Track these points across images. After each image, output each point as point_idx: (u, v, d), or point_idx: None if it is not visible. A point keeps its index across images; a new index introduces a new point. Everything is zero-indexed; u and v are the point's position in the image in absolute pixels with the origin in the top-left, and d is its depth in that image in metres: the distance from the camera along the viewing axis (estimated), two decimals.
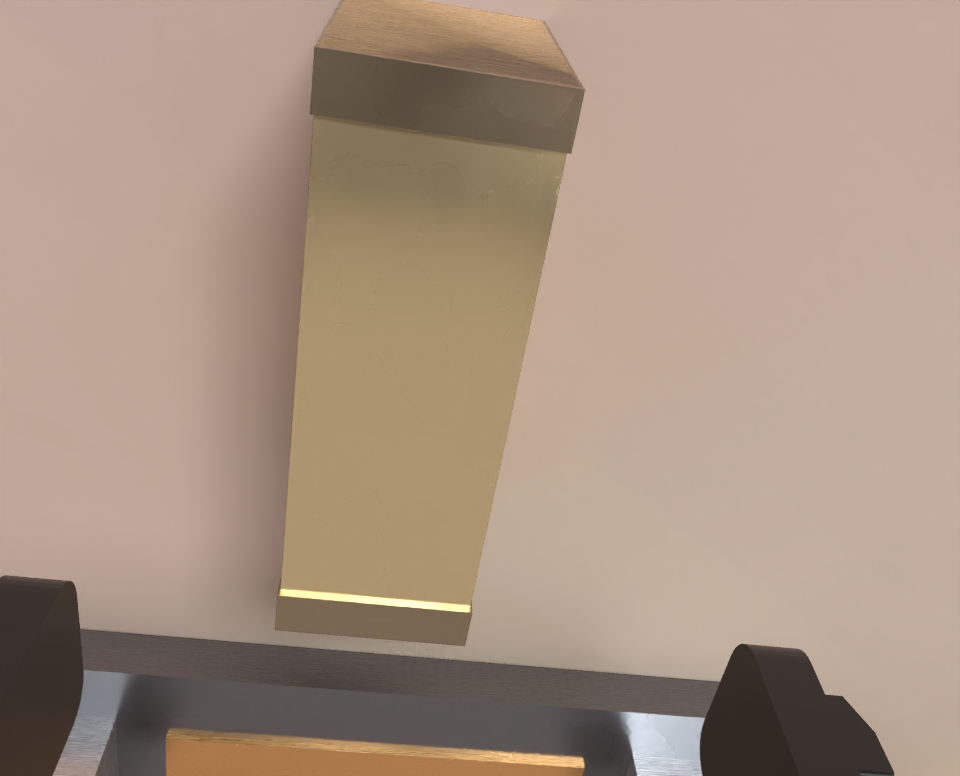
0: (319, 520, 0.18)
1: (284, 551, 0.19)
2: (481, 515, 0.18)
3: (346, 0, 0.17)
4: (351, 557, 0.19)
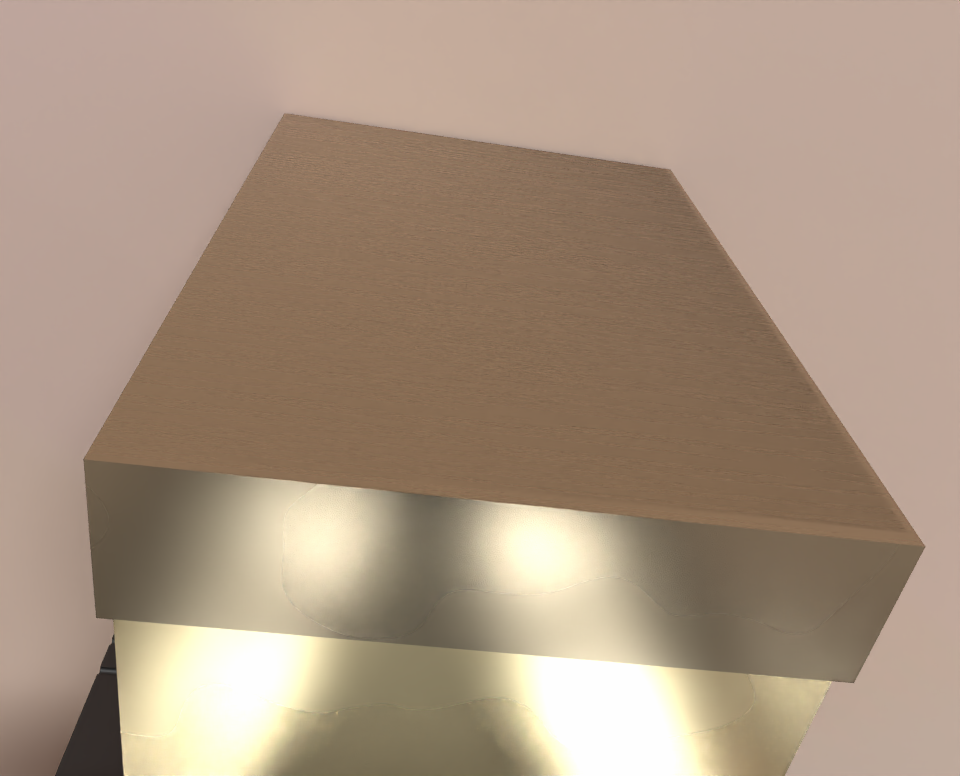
0: None
1: None
2: None
3: (268, 160, 0.08)
4: None
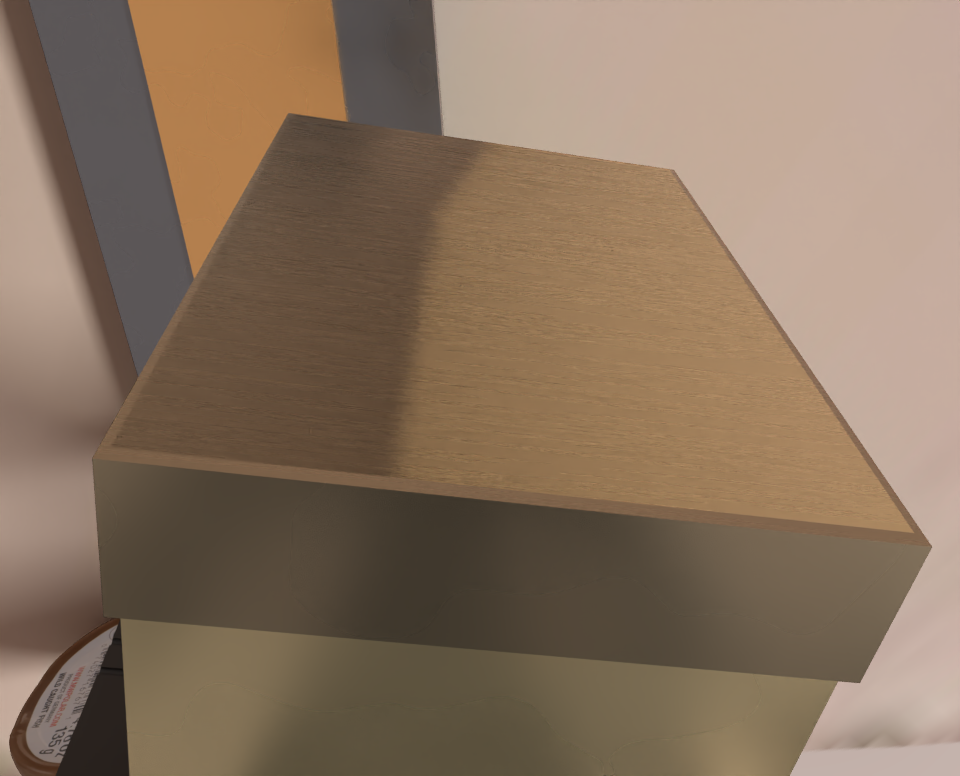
0: None
1: None
2: None
3: (272, 160, 0.08)
4: None
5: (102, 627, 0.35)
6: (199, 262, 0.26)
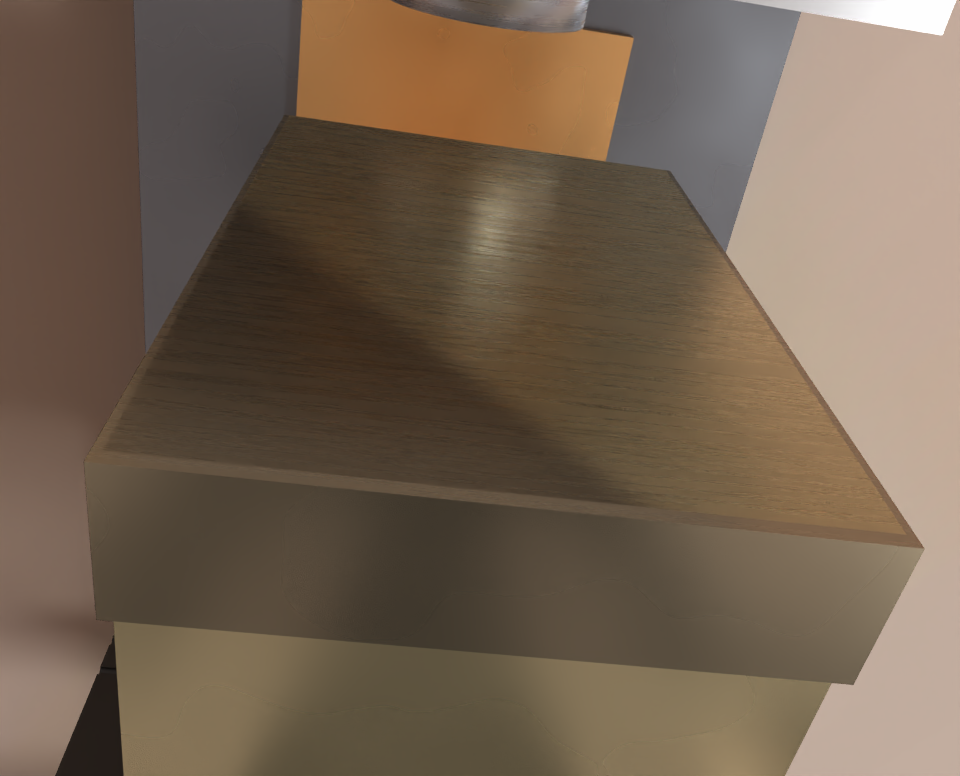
0: None
1: None
2: None
3: (268, 162, 0.08)
4: None
5: None
6: None
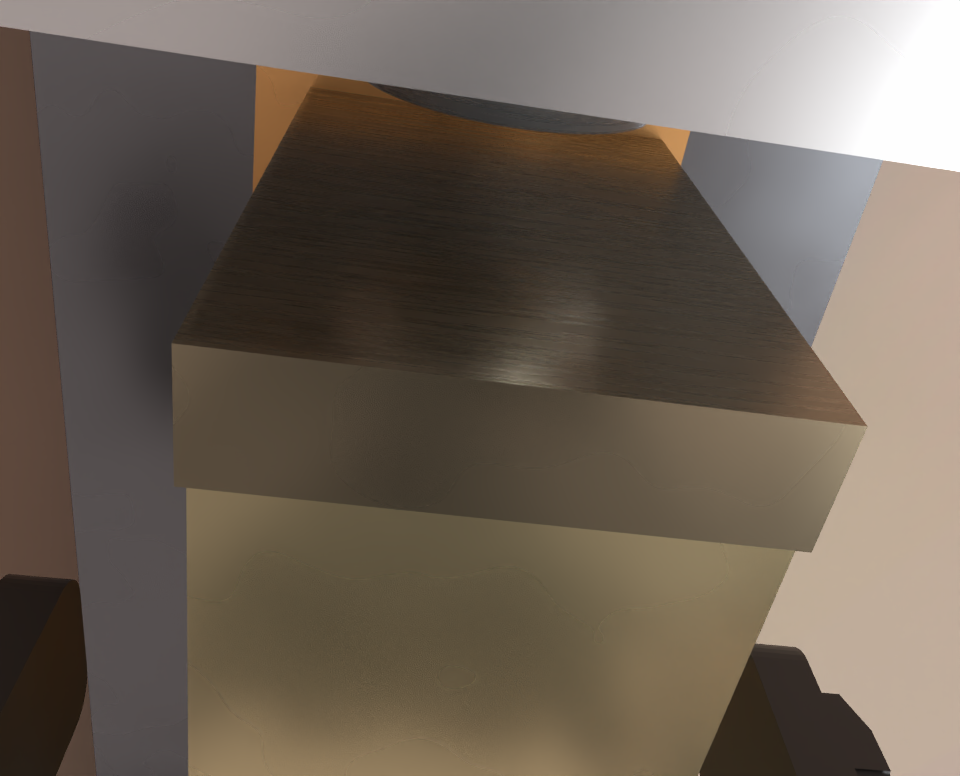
0: None
1: None
2: None
3: (299, 125, 0.09)
4: None
5: None
6: None
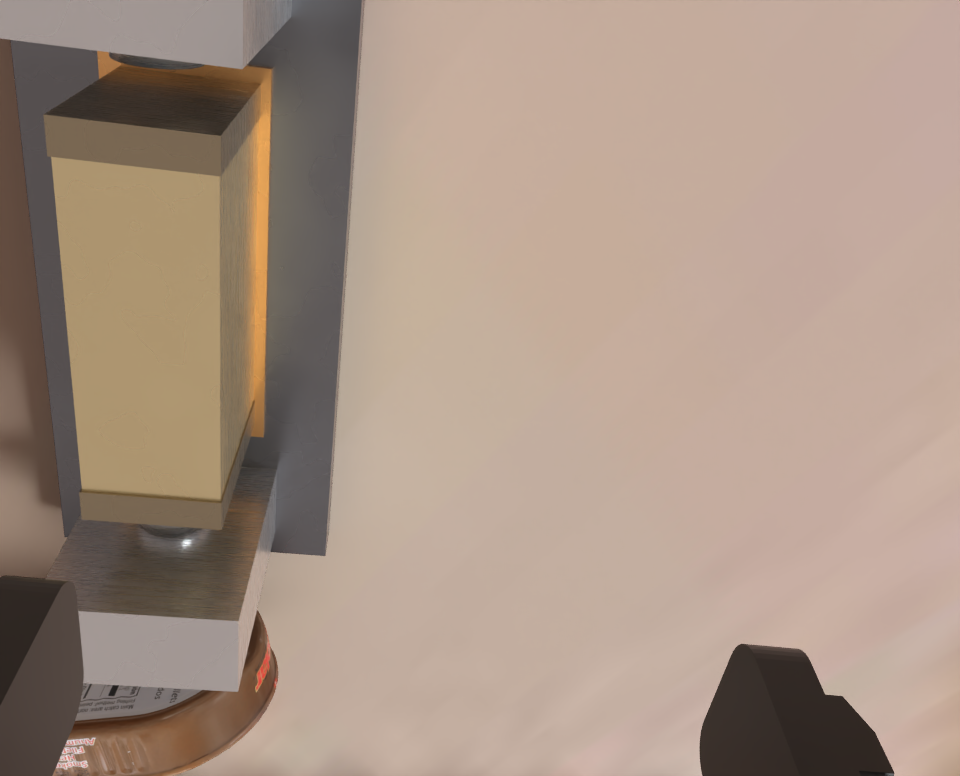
0: (101, 434, 0.26)
1: (80, 459, 0.27)
2: (214, 428, 0.26)
3: (106, 76, 0.26)
4: (128, 462, 0.27)
5: None
6: None
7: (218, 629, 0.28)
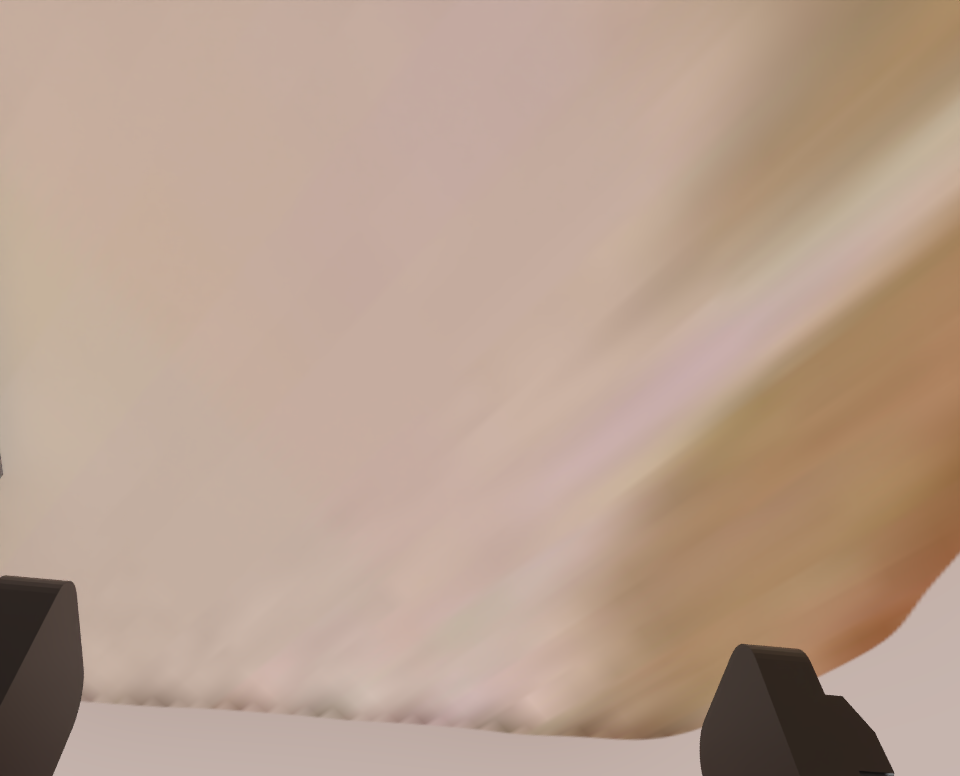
0: None
1: None
2: None
3: None
4: None
5: None
6: None
7: None
